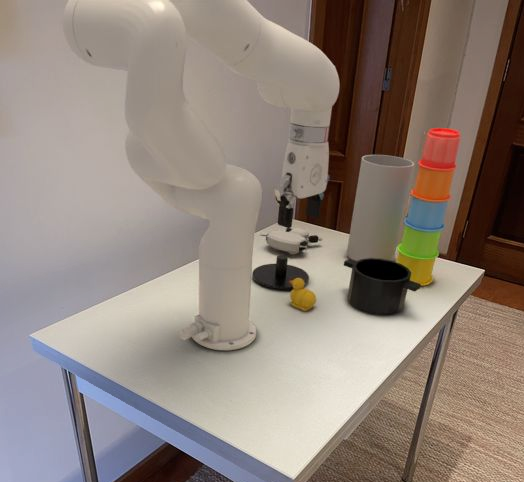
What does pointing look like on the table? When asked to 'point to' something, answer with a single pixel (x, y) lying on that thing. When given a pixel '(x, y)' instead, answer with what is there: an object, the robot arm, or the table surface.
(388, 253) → the cylinder vase
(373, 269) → the pan
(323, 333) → the table surface
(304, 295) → the duck
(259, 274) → the pan lid
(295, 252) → the robot toy
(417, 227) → the stacking cups
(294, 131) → the robot arm
